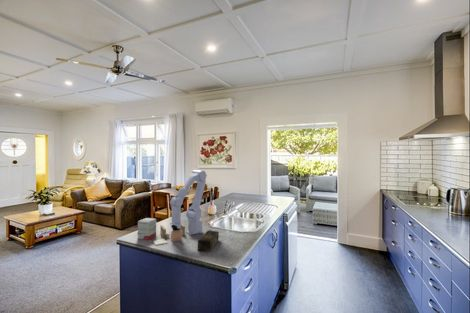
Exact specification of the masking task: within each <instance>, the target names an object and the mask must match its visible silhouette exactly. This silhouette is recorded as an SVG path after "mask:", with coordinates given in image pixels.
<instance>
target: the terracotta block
mask: <svg viewBox="0 0 470 313" xmlns="http://www.w3.org/2000/svg"><path fill="white" fill-rule="evenodd" d="M170 233H171V234H170V239H171V241H172V243H173V242H177V241H178V242H180V241H182V240H183V235H182V231H181V230H176V231H173V230H172V231H171V232H170Z"/></svg>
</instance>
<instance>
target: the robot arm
mask: <svg viewBox="0 0 470 313" xmlns="http://www.w3.org/2000/svg"><path fill="white" fill-rule="evenodd" d="M207 176H208V175H207V173H206V171H205V170H198V169H193V170H192V171H191V172H190V174H189V177H188V180H187V181H186V182H185V184H184V186H183V187H180V188H179V189H178V191H177V193H176V194H175V195H174V196H173V197H171V199H170V201H169V204H170V207H171V221H170V222H169V225H170V227H171V230H172V231H176V230H180V228H181V223H182V220H181V213H182V212H181V211H182V210H181V209H182V208H181V207H182V205H183V202H184V199H185V197H186V196H187V195H188V193H189V191H188V190H189V189H190V188H191V187H192V185H193V184H194V183H195V182H196V183H197V185H196V188H195V193H194V196H193V200H192V202H191V203H192V204H191V205H190V206H189V207H188V210H187V211H186V212H185V214H186V218H187V220H188V230H185V233H188V235H190V236H191V235H196V234H197V235H198V234H202V233H204V232H203V220H202V219H201V217H202V209H201V202H202V199H203V194H204V191H205V188H206V180H207Z"/></svg>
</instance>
